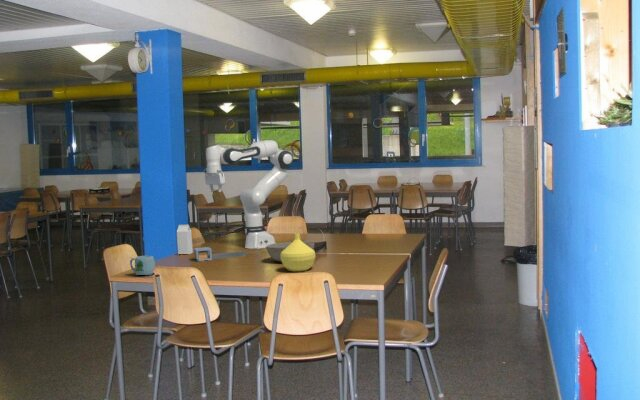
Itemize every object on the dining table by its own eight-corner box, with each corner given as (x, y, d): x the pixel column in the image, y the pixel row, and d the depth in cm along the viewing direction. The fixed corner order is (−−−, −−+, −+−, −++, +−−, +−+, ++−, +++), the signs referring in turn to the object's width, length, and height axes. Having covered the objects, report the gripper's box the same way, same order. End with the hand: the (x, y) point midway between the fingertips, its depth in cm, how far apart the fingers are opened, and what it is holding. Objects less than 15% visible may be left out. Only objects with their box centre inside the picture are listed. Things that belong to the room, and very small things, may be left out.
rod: (245, 255, 412) (245, 251, 412) (246, 256, 409) (246, 251, 409) (207, 259, 406) (207, 254, 406) (208, 260, 403) (208, 255, 403)
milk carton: (188, 254, 427) (186, 225, 426) (178, 255, 429) (176, 225, 427) (192, 253, 434) (191, 223, 433) (182, 253, 436) (180, 224, 434)
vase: (288, 266, 362) (286, 231, 361) (320, 266, 357) (318, 231, 356) (276, 273, 345) (274, 236, 344) (310, 273, 340) (308, 235, 338)
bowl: (304, 265, 365) (303, 247, 365) (258, 264, 375) (257, 247, 374) (321, 256, 391) (320, 239, 390) (278, 256, 401) (277, 240, 400)
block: (206, 259, 406) (205, 250, 406) (207, 260, 401) (206, 251, 401) (197, 259, 404) (197, 251, 404) (198, 261, 400) (198, 252, 399)
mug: (124, 276, 359) (123, 258, 358) (137, 272, 369) (135, 254, 368) (148, 277, 353) (146, 258, 352) (160, 273, 363) (159, 254, 363)
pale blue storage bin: (209, 258, 409) (208, 246, 408) (212, 260, 400) (211, 248, 400) (194, 259, 406) (193, 248, 405) (196, 261, 397) (196, 250, 397)
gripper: (226, 169, 420) (228, 191, 421) (211, 169, 436) (213, 191, 438) (217, 170, 416) (219, 192, 417) (202, 170, 433) (204, 192, 434)
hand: (216, 191), depth 428 cm, fingers open, 8 cm apart
